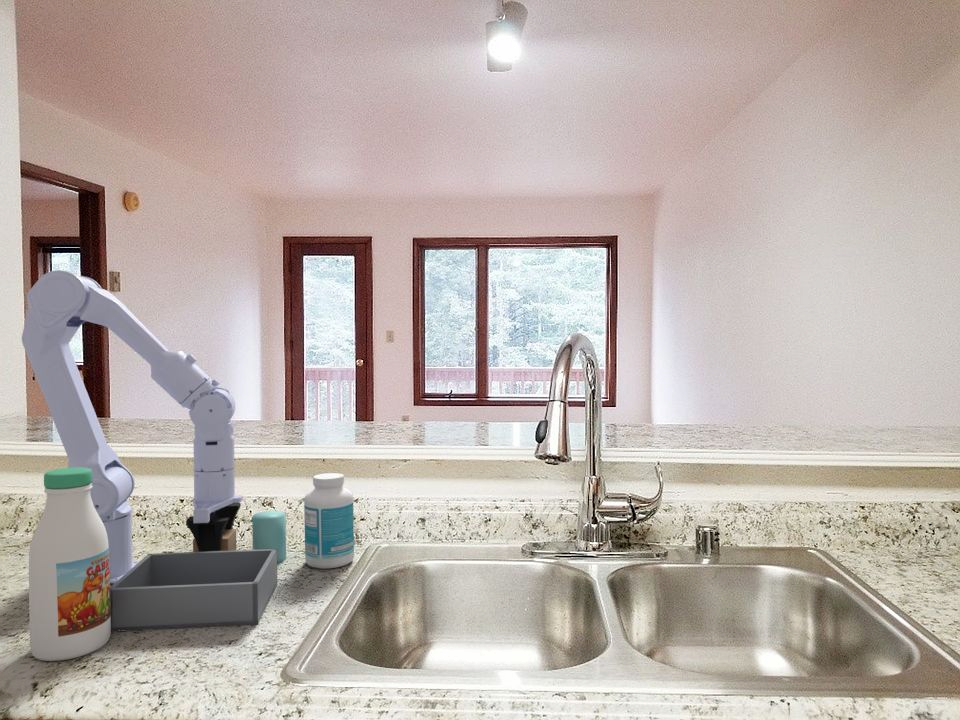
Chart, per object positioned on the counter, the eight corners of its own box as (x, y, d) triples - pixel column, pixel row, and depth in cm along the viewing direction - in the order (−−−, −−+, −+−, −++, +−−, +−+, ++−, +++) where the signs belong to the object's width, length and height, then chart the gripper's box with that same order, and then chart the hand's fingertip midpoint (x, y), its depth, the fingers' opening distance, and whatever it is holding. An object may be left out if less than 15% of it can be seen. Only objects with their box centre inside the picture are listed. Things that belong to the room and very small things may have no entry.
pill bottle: (359, 555, 106) (359, 471, 105) (345, 571, 98) (345, 481, 98) (314, 553, 106) (314, 470, 106) (297, 569, 99) (296, 480, 99)
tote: (107, 631, 78) (106, 590, 78) (149, 589, 91) (148, 553, 91) (258, 624, 80) (257, 583, 80) (277, 583, 93) (277, 548, 93)
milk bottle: (25, 669, 69) (21, 480, 68) (35, 639, 76) (31, 467, 75) (109, 653, 73) (106, 473, 72) (112, 626, 79) (109, 461, 79)
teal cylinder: (249, 565, 101) (249, 520, 101) (256, 554, 106) (256, 511, 106) (283, 564, 101) (282, 519, 101) (288, 553, 106) (288, 510, 106)
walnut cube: (193, 573, 97) (192, 540, 97) (203, 562, 102) (202, 530, 102) (228, 572, 98) (228, 538, 98) (236, 560, 103) (236, 529, 103)
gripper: (229, 477, 93) (230, 573, 93) (252, 459, 107) (253, 541, 108) (177, 479, 92) (178, 575, 93) (206, 460, 106) (208, 543, 107)
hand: (215, 557), depth 100 cm, fingers closed on walnut cube, 5 cm apart
